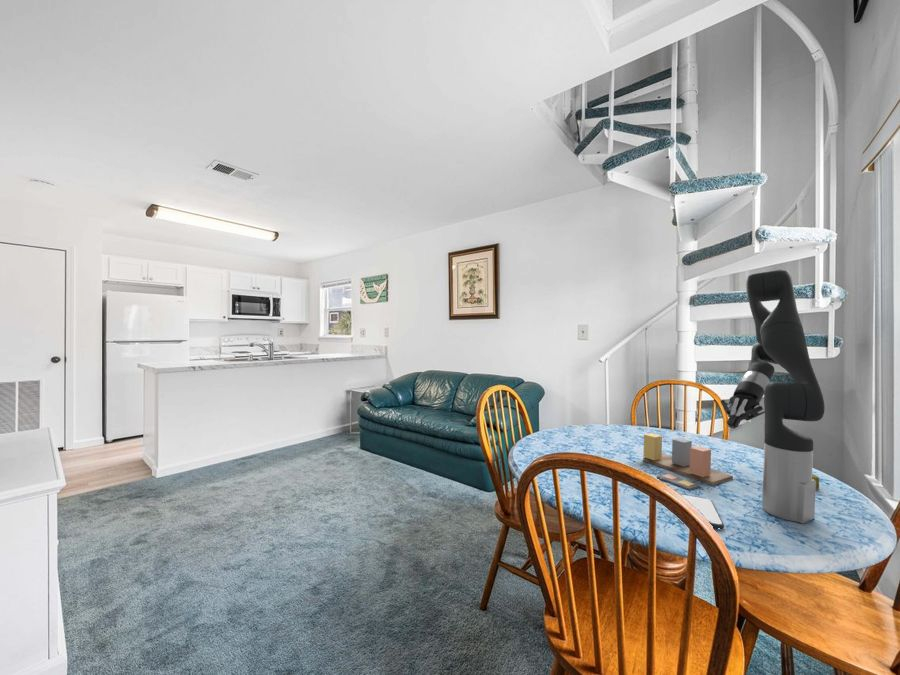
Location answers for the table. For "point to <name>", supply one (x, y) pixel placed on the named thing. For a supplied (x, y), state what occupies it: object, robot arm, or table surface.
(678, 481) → the card
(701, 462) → the salmon pink block
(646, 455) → the yellow tall block
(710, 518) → the phone case
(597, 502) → the table surface
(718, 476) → the keypad base
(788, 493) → the robot arm
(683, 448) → the grey rectangular block
